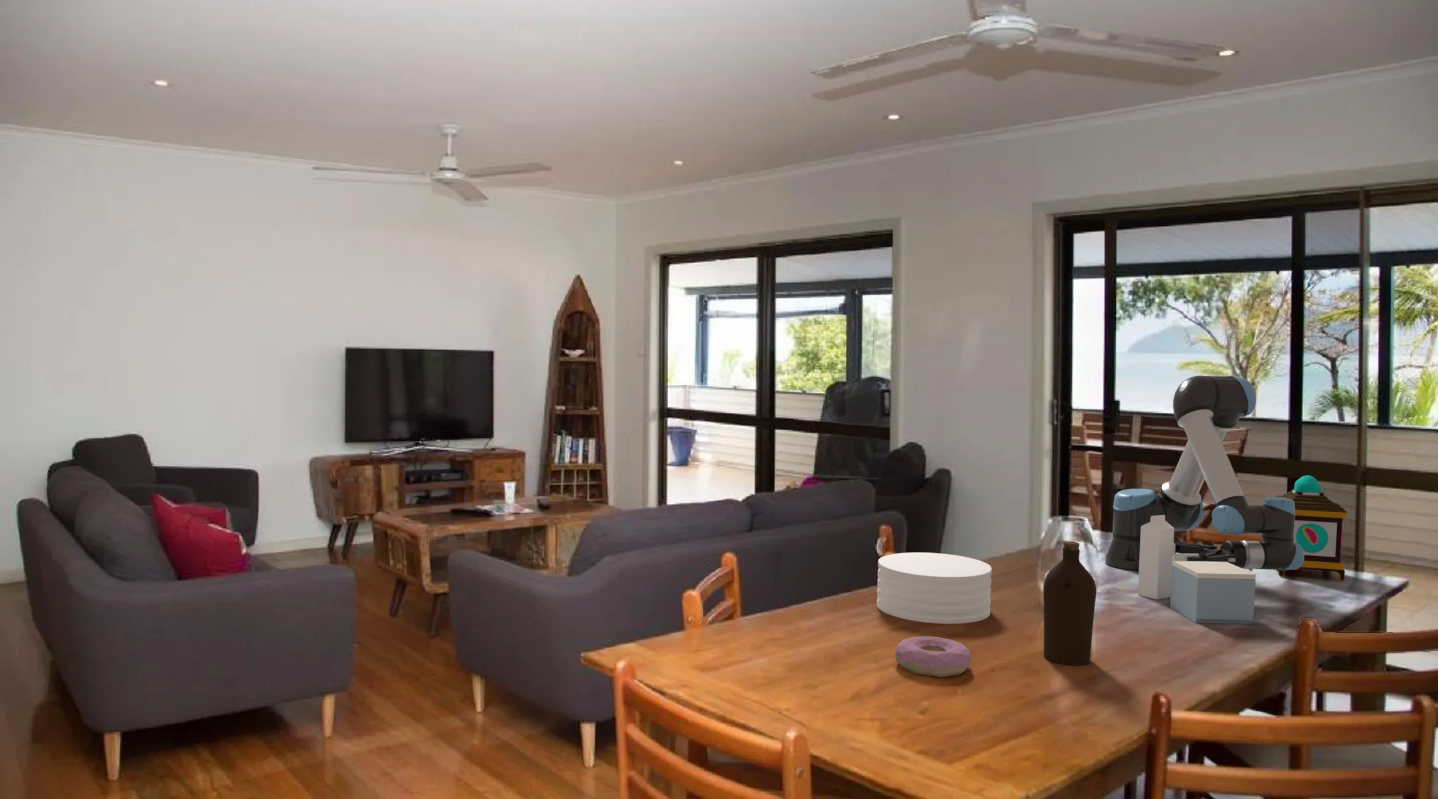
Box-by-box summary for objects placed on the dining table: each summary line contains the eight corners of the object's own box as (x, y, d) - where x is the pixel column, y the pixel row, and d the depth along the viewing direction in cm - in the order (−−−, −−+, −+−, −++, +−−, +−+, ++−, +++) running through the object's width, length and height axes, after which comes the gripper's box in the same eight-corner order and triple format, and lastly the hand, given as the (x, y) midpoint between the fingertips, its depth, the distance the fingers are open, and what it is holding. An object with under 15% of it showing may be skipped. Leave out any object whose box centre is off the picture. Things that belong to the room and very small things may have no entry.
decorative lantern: (1329, 569, 307) (1334, 473, 305) (1351, 583, 288) (1357, 481, 286) (1258, 564, 312) (1262, 469, 311) (1275, 577, 293) (1280, 477, 291)
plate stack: (861, 613, 244) (862, 567, 243) (896, 589, 269) (897, 548, 268) (975, 630, 231) (976, 582, 230) (1000, 604, 256) (1002, 560, 255)
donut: (879, 666, 203) (880, 642, 203) (921, 651, 214) (922, 629, 214) (944, 686, 192) (945, 660, 192) (985, 669, 203) (986, 645, 203)
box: (1224, 609, 255) (1226, 566, 254) (1253, 624, 241) (1255, 579, 240) (1170, 607, 255) (1172, 565, 255) (1195, 622, 241) (1197, 578, 241)
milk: (1137, 595, 268) (1140, 514, 267) (1152, 592, 271) (1155, 513, 270) (1157, 600, 263) (1160, 518, 262) (1171, 597, 266) (1174, 516, 265)
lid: (1226, 566, 254) (1226, 561, 254) (1255, 579, 240) (1255, 574, 240) (1172, 565, 255) (1172, 560, 255) (1197, 578, 241) (1198, 573, 241)
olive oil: (1102, 666, 206) (1107, 547, 205) (1053, 666, 205) (1058, 547, 203) (1079, 650, 216) (1083, 537, 215) (1032, 651, 215) (1037, 537, 214)
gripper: (1265, 579, 254) (1183, 577, 254) (1216, 558, 278) (1141, 557, 278) (1267, 550, 253) (1184, 549, 253) (1218, 532, 278) (1142, 530, 278)
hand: (1161, 553), depth 266 cm, fingers open, 13 cm apart
